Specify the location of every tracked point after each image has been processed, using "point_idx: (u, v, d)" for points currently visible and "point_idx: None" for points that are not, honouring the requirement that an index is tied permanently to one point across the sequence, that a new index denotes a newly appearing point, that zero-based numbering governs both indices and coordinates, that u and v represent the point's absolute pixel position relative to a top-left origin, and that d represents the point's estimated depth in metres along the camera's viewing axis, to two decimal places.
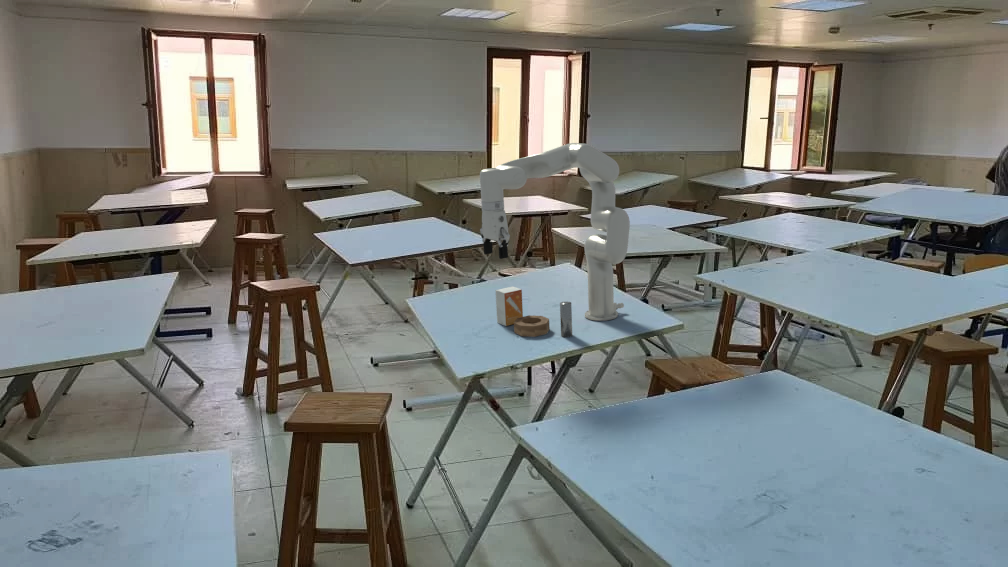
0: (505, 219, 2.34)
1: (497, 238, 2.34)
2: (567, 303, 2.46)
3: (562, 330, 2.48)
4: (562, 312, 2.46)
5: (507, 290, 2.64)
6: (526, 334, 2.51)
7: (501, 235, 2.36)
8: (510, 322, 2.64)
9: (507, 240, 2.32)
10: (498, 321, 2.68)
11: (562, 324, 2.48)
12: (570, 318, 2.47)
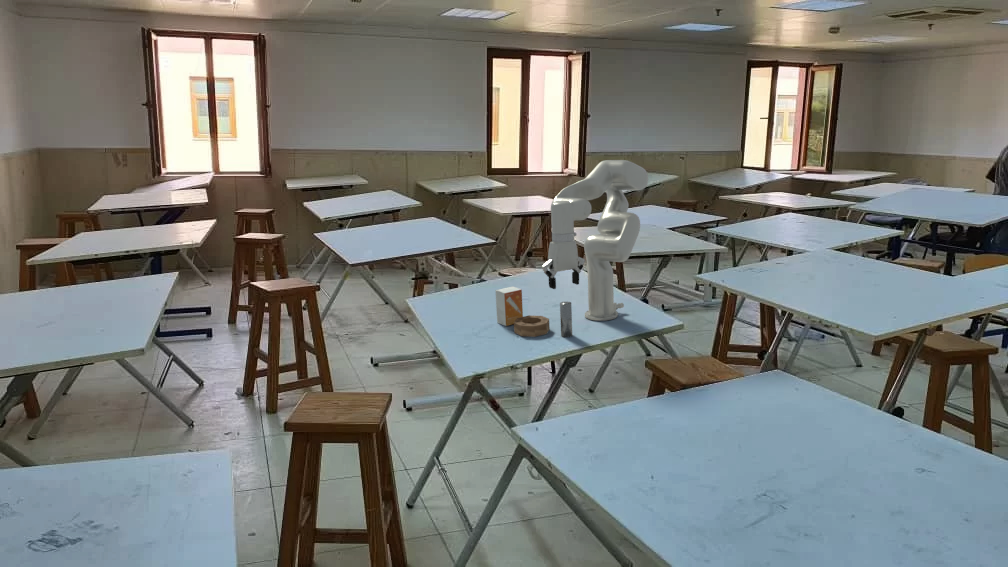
0: None
1: (577, 265, 2.44)
2: (567, 303, 2.46)
3: (562, 330, 2.48)
4: (562, 312, 2.46)
5: (507, 290, 2.64)
6: (526, 334, 2.51)
7: None
8: (510, 322, 2.64)
9: None
10: (498, 321, 2.68)
11: (562, 324, 2.48)
12: (570, 318, 2.47)
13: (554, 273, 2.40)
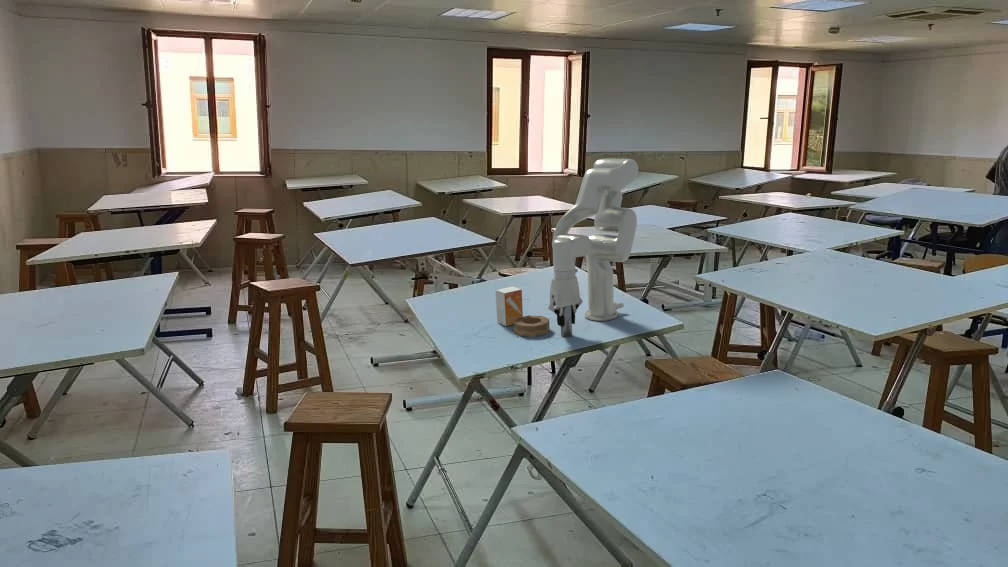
0: None
1: (579, 301, 2.47)
2: None
3: (562, 330, 2.48)
4: None
5: (507, 290, 2.64)
6: (526, 334, 2.51)
7: None
8: (510, 322, 2.64)
9: None
10: (498, 321, 2.68)
11: None
12: (570, 318, 2.47)
13: (561, 311, 2.45)
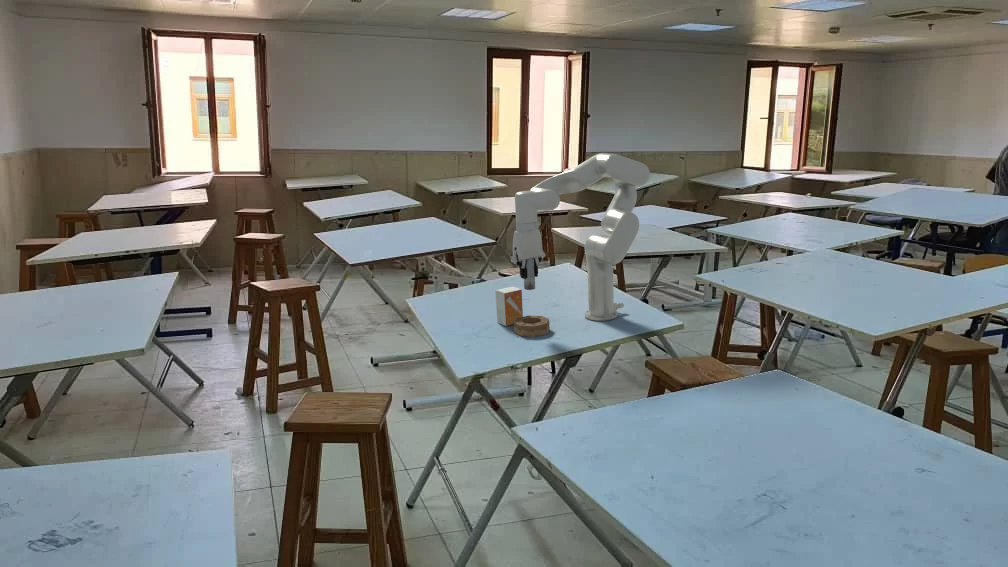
0: None
1: (541, 253, 2.50)
2: None
3: (525, 283, 2.51)
4: (525, 264, 2.49)
5: (507, 290, 2.64)
6: (526, 334, 2.51)
7: None
8: (510, 322, 2.64)
9: None
10: (498, 321, 2.68)
11: None
12: (533, 271, 2.50)
13: (523, 263, 2.48)
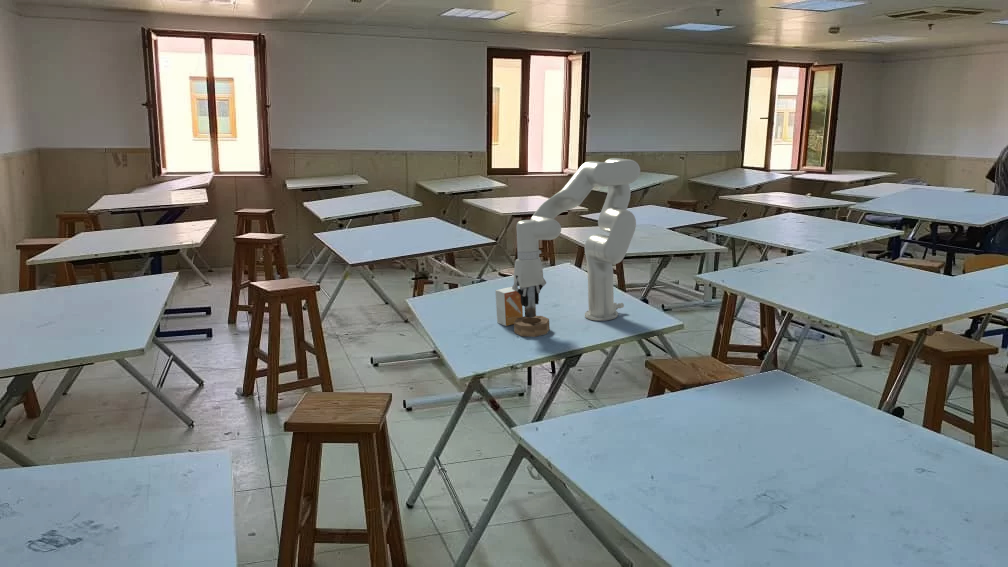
0: None
1: (542, 281, 2.53)
2: None
3: (526, 310, 2.53)
4: (526, 292, 2.51)
5: (507, 290, 2.64)
6: (526, 334, 2.51)
7: None
8: (510, 322, 2.64)
9: None
10: (498, 321, 2.68)
11: None
12: (533, 298, 2.52)
13: (524, 291, 2.50)
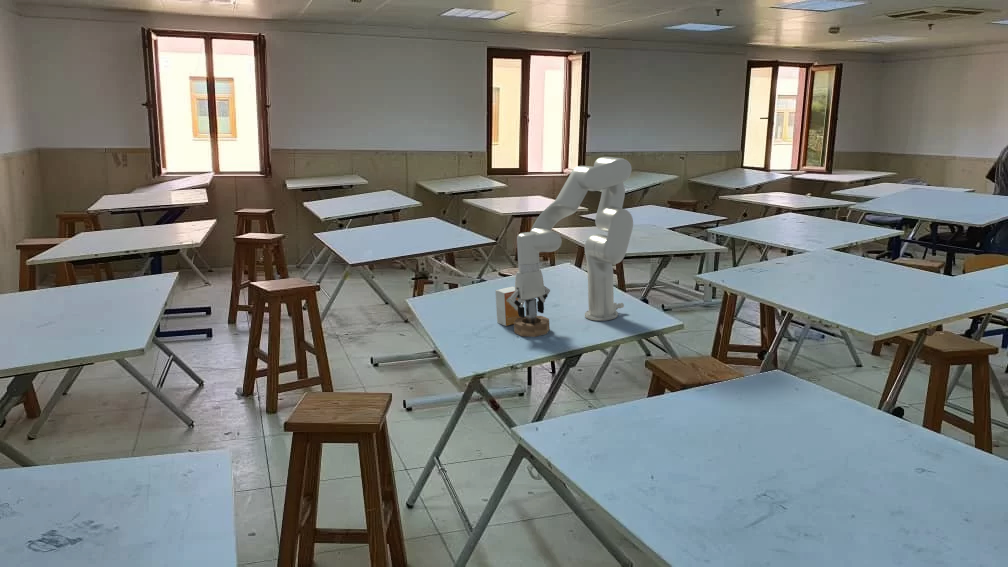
0: None
1: (543, 293, 2.54)
2: (532, 299, 2.53)
3: None
4: (527, 308, 2.53)
5: (507, 290, 2.64)
6: (526, 334, 2.51)
7: None
8: (510, 322, 2.64)
9: None
10: (498, 321, 2.68)
11: (527, 320, 2.54)
12: (535, 314, 2.54)
13: (522, 302, 2.51)
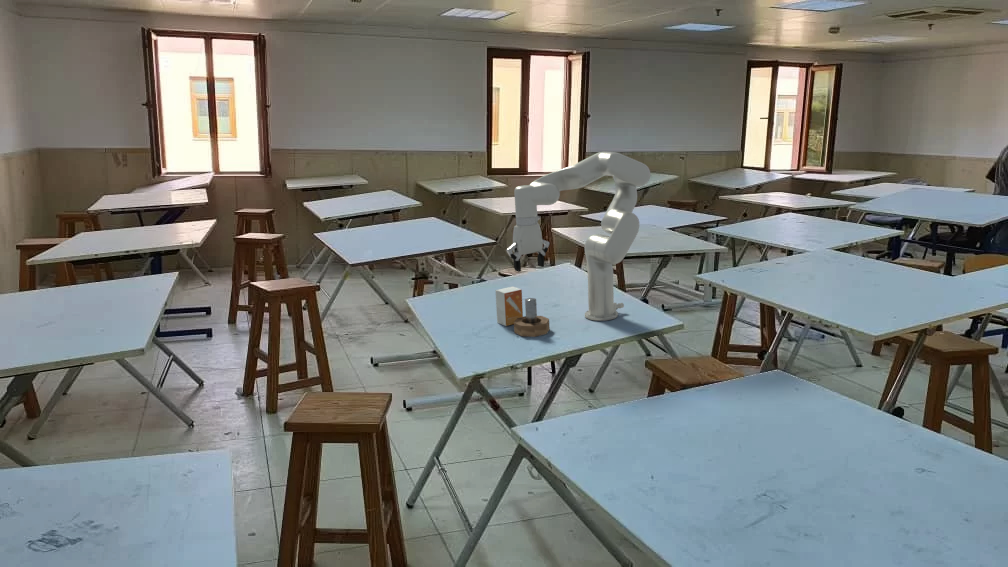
0: None
1: (542, 248, 2.50)
2: (532, 299, 2.53)
3: None
4: (527, 308, 2.53)
5: (507, 290, 2.64)
6: (526, 334, 2.51)
7: None
8: (510, 322, 2.64)
9: None
10: (498, 321, 2.68)
11: (527, 320, 2.54)
12: (535, 314, 2.54)
13: (519, 256, 2.46)
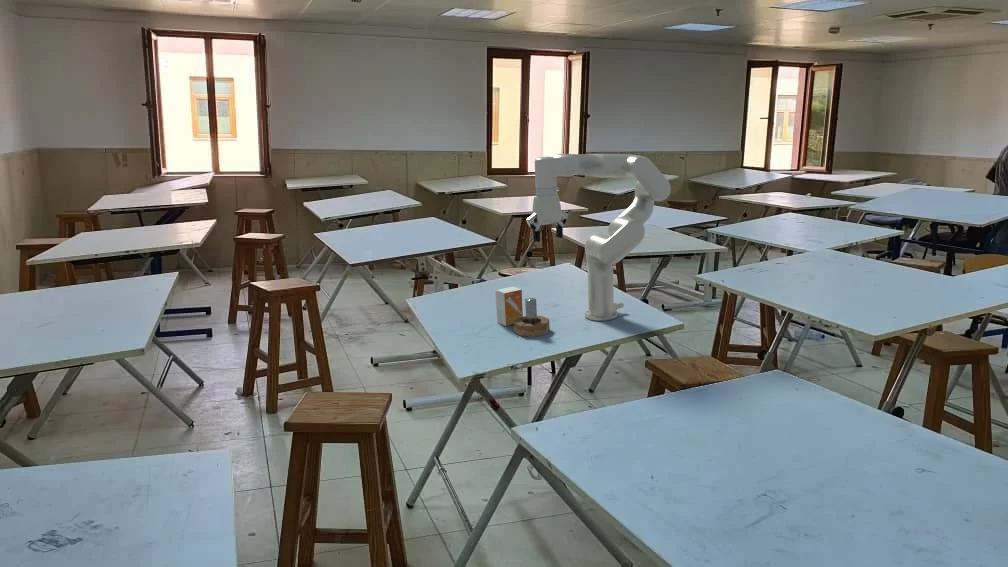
0: None
1: (561, 219, 2.54)
2: (532, 299, 2.53)
3: None
4: (527, 308, 2.53)
5: (507, 290, 2.64)
6: (526, 334, 2.51)
7: None
8: (510, 322, 2.64)
9: None
10: (498, 321, 2.68)
11: (527, 320, 2.54)
12: (535, 314, 2.54)
13: (538, 226, 2.50)
